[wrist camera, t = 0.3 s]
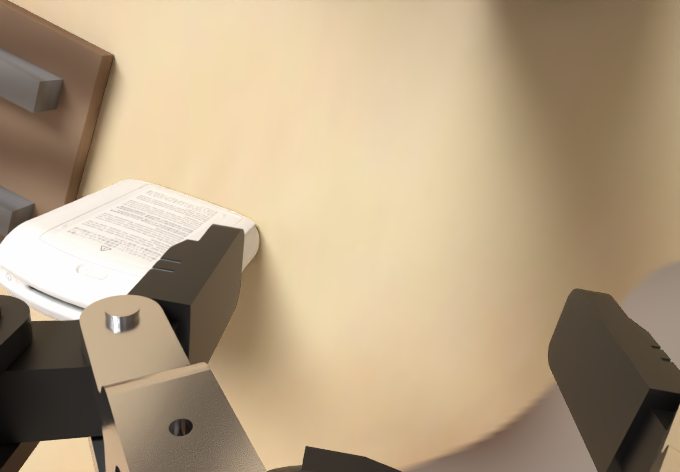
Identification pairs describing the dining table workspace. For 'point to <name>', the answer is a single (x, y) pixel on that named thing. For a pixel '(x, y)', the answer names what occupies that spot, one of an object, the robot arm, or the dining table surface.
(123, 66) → the dining table surface
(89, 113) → the cradle
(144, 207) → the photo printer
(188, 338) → the robot arm
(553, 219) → the dining table surface
